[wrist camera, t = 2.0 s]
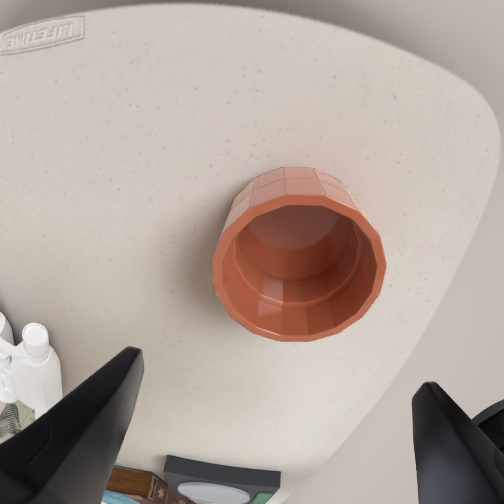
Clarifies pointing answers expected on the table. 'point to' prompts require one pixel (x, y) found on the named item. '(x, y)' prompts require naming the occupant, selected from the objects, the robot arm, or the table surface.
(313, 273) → the pot
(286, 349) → the table surface
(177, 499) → the book
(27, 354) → the binoculars
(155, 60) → the table surface
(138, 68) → the table surface
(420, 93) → the table surface
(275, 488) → the scale
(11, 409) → the box
